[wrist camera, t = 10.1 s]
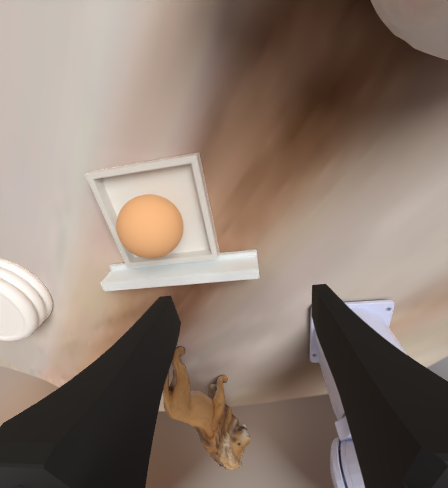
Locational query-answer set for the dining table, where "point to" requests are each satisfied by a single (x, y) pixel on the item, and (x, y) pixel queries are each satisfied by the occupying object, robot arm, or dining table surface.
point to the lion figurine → (206, 415)
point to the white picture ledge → (184, 272)
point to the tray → (167, 186)
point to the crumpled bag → (417, 23)
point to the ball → (149, 226)
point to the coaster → (21, 302)
